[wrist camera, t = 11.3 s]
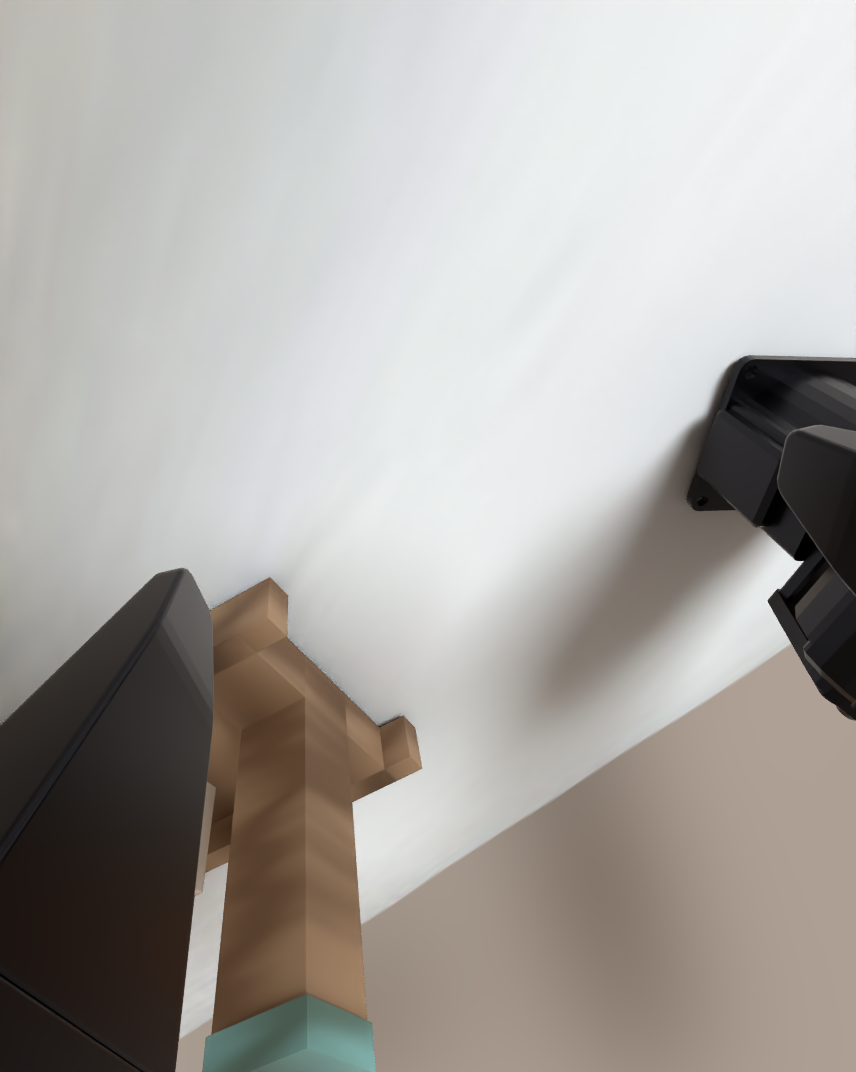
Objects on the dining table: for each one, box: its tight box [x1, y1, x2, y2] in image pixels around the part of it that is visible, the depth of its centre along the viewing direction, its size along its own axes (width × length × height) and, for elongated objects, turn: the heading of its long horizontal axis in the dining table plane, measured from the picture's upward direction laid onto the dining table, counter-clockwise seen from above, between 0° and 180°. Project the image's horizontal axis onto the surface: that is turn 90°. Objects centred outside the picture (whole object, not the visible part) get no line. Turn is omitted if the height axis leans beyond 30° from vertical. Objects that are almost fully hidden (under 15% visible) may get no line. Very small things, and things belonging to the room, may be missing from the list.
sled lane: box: [202, 578, 422, 1072], centre depth 24 cm, size 17×12×14 cm
